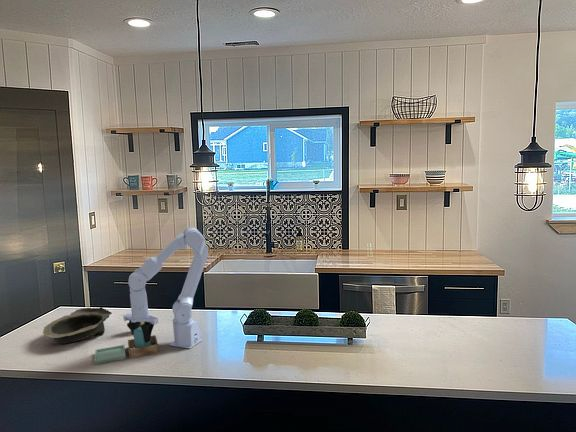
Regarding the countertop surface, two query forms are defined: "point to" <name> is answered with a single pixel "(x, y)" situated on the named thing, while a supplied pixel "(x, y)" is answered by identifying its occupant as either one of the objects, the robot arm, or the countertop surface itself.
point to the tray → (110, 354)
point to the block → (140, 338)
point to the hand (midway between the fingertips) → (142, 340)
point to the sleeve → (143, 348)
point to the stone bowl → (77, 325)
